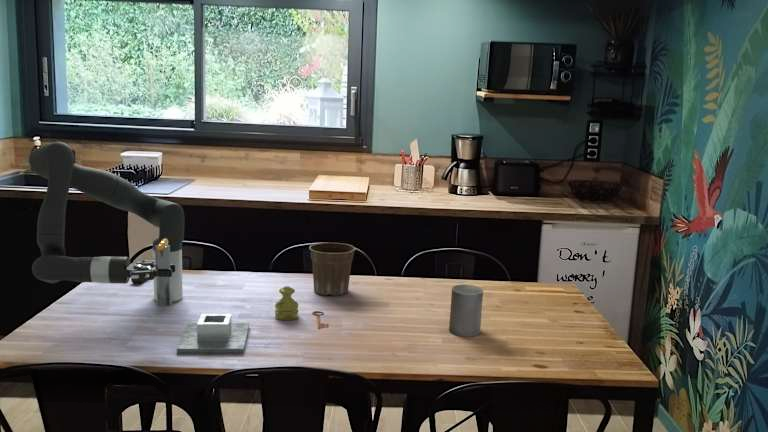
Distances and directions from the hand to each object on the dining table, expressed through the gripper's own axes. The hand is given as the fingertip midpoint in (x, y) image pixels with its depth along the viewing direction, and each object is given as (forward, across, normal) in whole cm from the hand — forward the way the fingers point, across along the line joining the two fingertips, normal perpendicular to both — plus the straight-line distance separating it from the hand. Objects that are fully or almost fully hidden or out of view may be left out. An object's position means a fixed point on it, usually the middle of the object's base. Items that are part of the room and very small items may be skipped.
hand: (173, 270), depth 206 cm
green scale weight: (+31, +20, +21) cm, 43 cm away
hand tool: (-22, +63, +22) cm, 70 cm away
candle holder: (+11, 0, +21) cm, 24 cm away
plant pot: (+46, +48, +21) cm, 69 cm away
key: (+42, +18, +22) cm, 50 cm away
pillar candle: (+86, +8, +21) cm, 89 cm away
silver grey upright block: (-3, 0, +10) cm, 10 cm away
